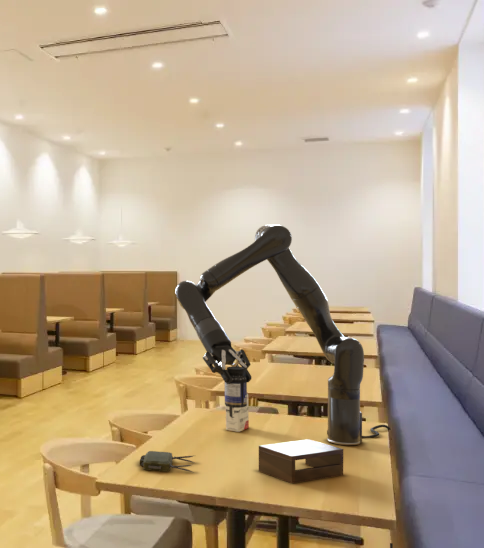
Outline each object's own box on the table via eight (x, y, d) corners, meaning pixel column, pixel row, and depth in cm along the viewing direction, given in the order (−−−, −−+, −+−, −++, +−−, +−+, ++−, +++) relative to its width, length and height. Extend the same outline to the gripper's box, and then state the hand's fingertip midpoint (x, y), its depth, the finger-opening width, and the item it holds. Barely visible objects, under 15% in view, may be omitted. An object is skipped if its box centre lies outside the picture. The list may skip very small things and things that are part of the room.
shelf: (308, 463, 204) (308, 439, 204) (343, 475, 193) (343, 449, 193) (258, 471, 197) (258, 445, 197) (291, 483, 186) (291, 456, 186)
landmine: (143, 448, 211) (196, 451, 207) (143, 457, 211) (196, 461, 207) (137, 460, 198) (194, 465, 194) (137, 470, 198) (194, 474, 194)
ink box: (235, 425, 252) (235, 391, 252) (249, 427, 249) (249, 393, 249) (225, 430, 245) (225, 395, 245) (239, 432, 242) (239, 396, 242)
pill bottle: (236, 403, 212) (236, 365, 212) (251, 406, 207) (251, 368, 207) (220, 404, 210) (219, 367, 210) (234, 408, 204) (234, 369, 204)
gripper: (198, 329, 212) (225, 375, 201) (237, 327, 218) (266, 371, 207) (187, 345, 217) (213, 391, 206) (225, 342, 223) (253, 387, 212)
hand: (239, 381), depth 207 cm, fingers closed on pill bottle, 6 cm apart
